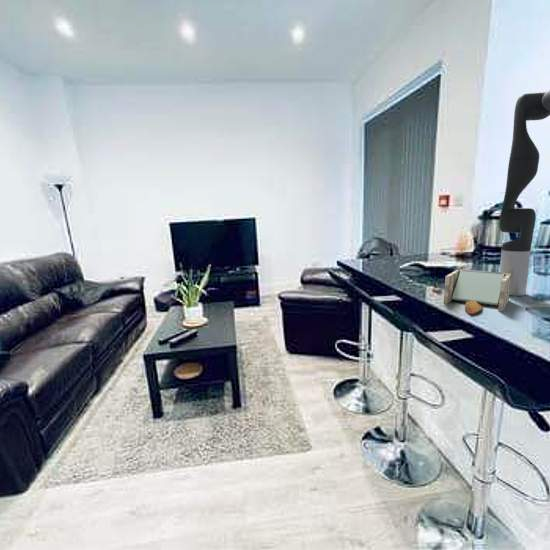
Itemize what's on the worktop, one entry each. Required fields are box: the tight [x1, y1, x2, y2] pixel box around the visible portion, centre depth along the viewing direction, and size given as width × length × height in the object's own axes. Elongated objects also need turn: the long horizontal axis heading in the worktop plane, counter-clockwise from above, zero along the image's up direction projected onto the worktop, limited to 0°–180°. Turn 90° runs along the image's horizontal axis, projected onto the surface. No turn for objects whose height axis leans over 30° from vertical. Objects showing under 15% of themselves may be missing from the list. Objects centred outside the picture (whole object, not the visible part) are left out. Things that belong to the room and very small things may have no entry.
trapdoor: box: [452, 269, 504, 306], centre depth 122 cm, size 15×14×1 cm
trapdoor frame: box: [443, 269, 511, 312], centre depth 121 cm, size 17×18×10 cm
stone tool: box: [464, 300, 484, 315], centre depth 111 cm, size 5×2×15 cm
